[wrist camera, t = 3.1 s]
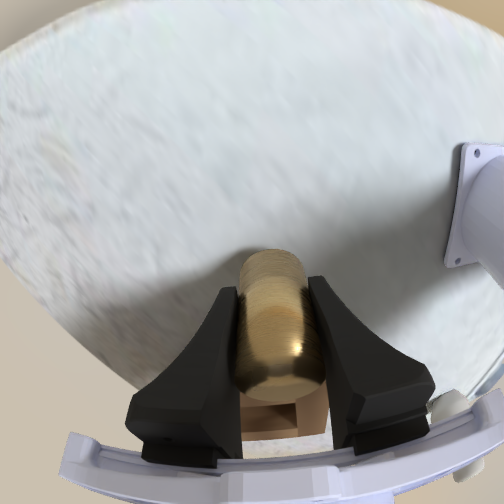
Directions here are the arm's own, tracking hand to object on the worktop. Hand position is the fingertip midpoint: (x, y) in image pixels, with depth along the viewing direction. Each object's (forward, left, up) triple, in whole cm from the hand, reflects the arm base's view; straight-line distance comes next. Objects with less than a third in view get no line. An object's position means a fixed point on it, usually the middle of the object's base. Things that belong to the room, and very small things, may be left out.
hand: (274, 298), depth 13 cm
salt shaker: (-21, +26, -3) cm, 34 cm away
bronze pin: (0, 0, -2) cm, 2 cm away
